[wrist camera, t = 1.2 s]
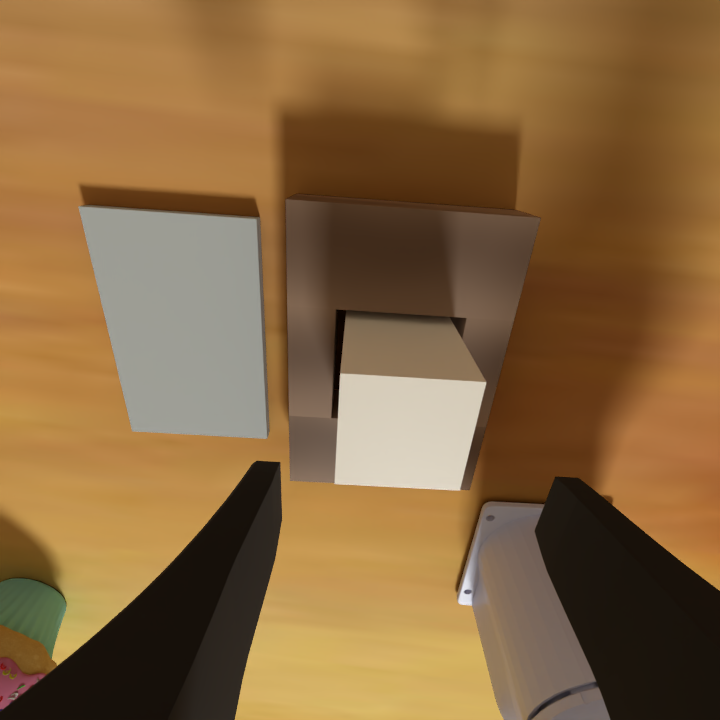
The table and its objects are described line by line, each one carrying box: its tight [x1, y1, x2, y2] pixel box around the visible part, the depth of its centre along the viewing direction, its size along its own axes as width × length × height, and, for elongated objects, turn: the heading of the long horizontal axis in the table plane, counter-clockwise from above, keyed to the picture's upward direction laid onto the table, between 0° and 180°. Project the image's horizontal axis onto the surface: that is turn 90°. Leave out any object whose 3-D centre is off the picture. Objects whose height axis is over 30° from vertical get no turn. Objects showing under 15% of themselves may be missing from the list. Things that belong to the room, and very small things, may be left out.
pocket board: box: [286, 194, 541, 490], centre depth 18 cm, size 13×9×2 cm
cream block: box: [335, 310, 486, 491], centre depth 16 cm, size 4×4×7 cm
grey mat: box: [78, 205, 269, 439], centre depth 18 cm, size 11×7×1 cm, turn 176°
